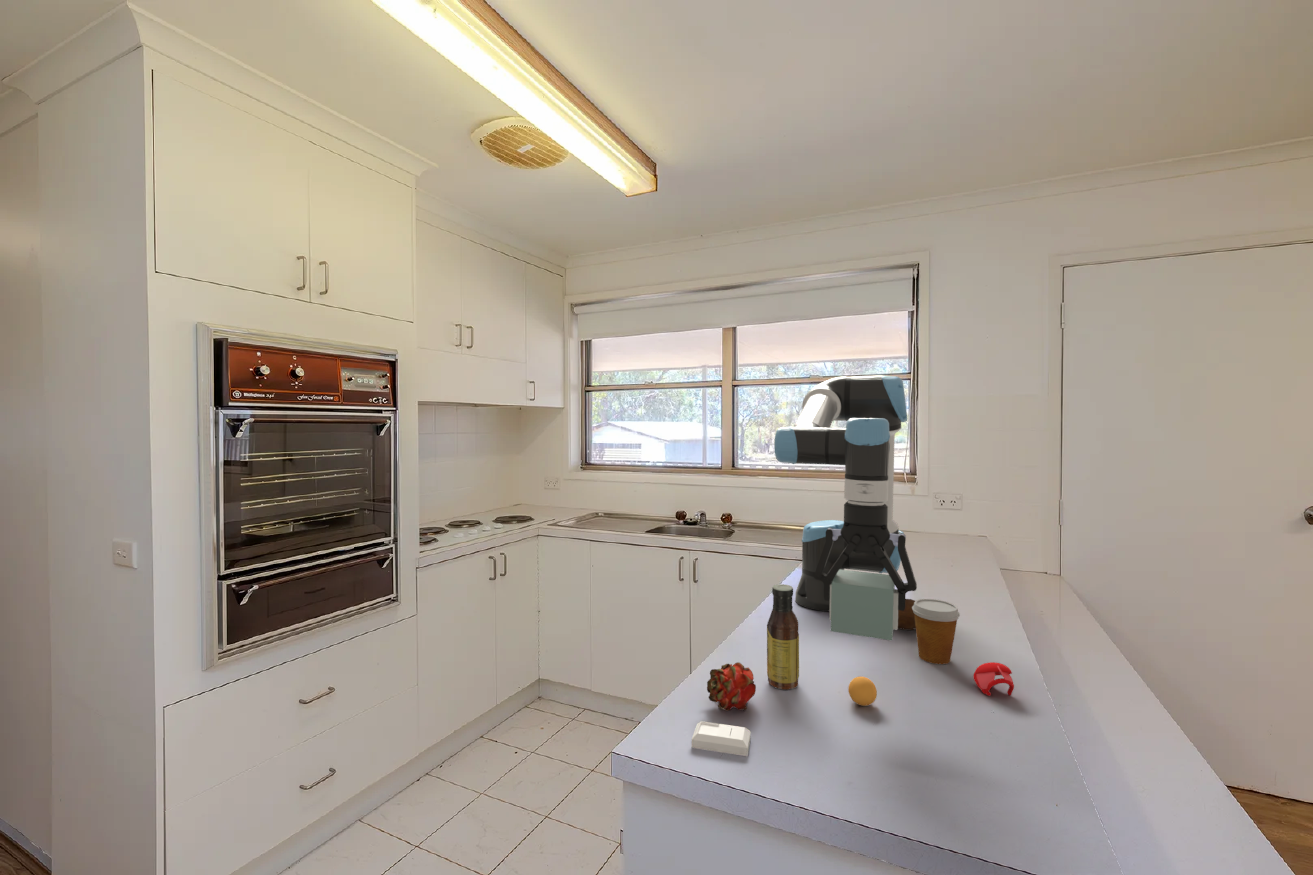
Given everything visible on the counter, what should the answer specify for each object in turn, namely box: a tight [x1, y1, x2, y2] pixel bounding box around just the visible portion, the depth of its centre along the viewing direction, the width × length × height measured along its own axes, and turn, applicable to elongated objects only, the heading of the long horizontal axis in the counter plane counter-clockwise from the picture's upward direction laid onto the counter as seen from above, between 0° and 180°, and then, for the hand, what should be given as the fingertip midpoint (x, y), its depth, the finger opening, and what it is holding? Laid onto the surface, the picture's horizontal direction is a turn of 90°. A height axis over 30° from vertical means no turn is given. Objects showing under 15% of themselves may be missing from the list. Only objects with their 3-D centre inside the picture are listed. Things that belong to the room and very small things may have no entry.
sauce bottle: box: [766, 583, 800, 691], centre depth 114 cm, size 7×6×20 cm
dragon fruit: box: [706, 661, 757, 712], centre depth 106 cm, size 8×8×12 cm
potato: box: [898, 598, 916, 631], centre depth 143 cm, size 7×10×8 cm
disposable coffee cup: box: [912, 598, 961, 665], centre depth 127 cm, size 10×10×12 cm
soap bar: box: [691, 720, 752, 757], centre depth 94 cm, size 5×9×3 cm, turn 75°
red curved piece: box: [972, 662, 1015, 697], centre depth 112 cm, size 8×6×6 cm
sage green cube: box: [830, 569, 896, 641], centre depth 105 cm, size 10×10×9 cm
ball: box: [847, 676, 878, 707], centre depth 107 cm, size 5×5×5 cm
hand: (863, 622), depth 105 cm, fingers closed on sage green cube, 10 cm apart
